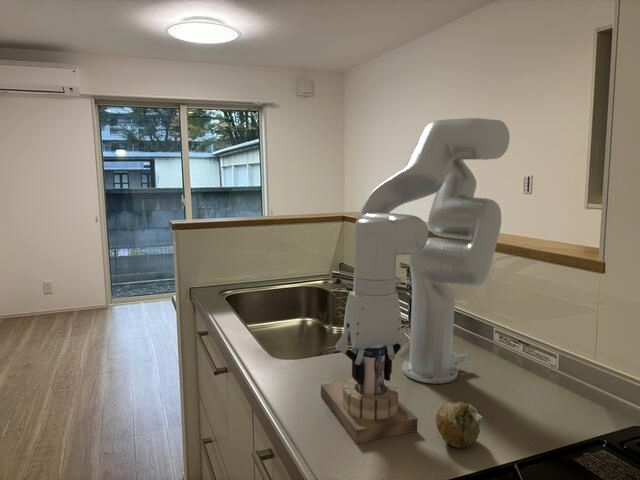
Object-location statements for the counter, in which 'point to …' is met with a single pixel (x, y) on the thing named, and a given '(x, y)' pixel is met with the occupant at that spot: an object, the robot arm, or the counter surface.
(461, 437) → the onion
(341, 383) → the board
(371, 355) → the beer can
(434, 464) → the counter surface
